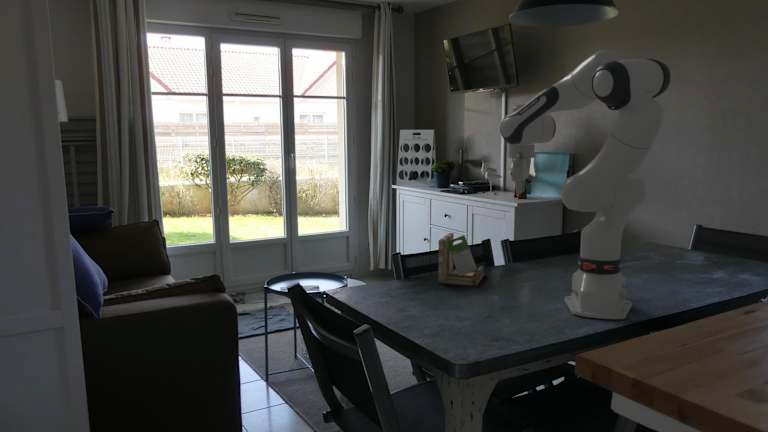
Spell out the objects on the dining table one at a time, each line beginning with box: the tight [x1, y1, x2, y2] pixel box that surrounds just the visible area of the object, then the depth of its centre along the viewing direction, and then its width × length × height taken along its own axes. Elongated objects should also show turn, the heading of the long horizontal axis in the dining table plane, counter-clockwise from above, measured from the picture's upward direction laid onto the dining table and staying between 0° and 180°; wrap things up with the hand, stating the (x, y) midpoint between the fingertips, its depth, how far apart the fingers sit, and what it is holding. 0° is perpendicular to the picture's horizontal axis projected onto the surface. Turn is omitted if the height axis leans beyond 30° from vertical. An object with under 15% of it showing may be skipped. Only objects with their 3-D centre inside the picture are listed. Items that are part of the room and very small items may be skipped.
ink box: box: [447, 234, 478, 276], centre depth 200 cm, size 7×4×13 cm, turn 88°
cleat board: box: [437, 232, 485, 287], centre depth 200 cm, size 16×13×15 cm
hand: (520, 192), depth 196 cm, fingers open, 8 cm apart
